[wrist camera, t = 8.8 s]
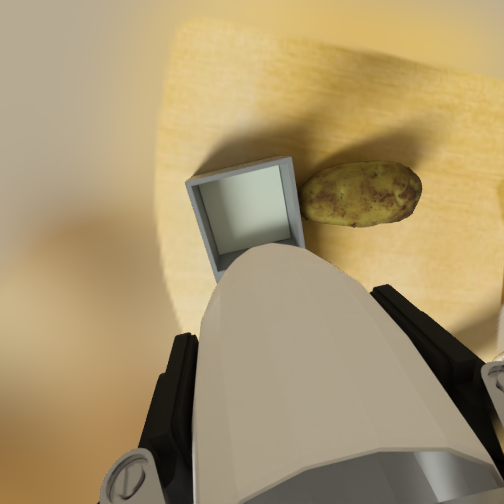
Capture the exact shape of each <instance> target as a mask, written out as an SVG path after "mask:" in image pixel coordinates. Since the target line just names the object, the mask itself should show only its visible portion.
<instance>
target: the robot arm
mask: <svg viewBox="0 0 504 504" xmlns="http://www.w3.org/2000/svg"><path fill="white" fill-rule="evenodd" d="M370 295H371V296H372V297H373V298H374V299H375V300H376V301H377V302H378V304H379V305H380V306H381V307H382V308H383V309H384V310H385V311H386V313H387V314H388V315H389V316H390V317H391V318H392V319H393V320H394V322H395V323H396V324H397V325H398V326H399V327H400V328H401V329H402V331H403V332H404V333H405V334H406V335H407V336H408V337H409V339H410V340H411V342H412V343H413V345H414V346H415V348H416V349H417V350H418V352H419V353H420V355H421V356H422V358H423V359H424V361H425V362H426V364H427V365H428V366H429V368H430V369H431V371H432V372H433V374H434V375H435V377H436V378H437V380H438V381H439V382H440V384H441V385H442V387H443V388H444V390H445V391H446V393H447V394H448V396H449V397H450V398H451V400H452V401H453V403H454V404H455V406H456V407H457V409H458V410H459V412H460V413H461V414H462V416H463V417H464V419H465V420H466V422H467V423H468V425H469V426H470V427H471V429H472V430H473V432H474V433H475V435H476V436H477V438H478V439H479V441H480V442H481V443H482V445H483V446H484V448H485V449H486V451H487V452H488V454H489V455H490V457H491V459H492V460H493V462H494V464H495V466H496V468H497V470H498V471H499V473H500V475H501V477H502V479H503V481H504V361H493V362H488V363H487V364H486V363H485V362H484V361H482V360H481V359H480V358H479V357H478V356H476V355H475V354H474V353H473V352H472V351H470V350H469V349H468V348H467V347H466V346H464V345H463V344H462V343H461V342H459V341H458V340H457V339H456V338H455V337H453V336H452V335H451V334H450V333H449V332H447V331H446V330H445V329H444V328H443V327H441V326H440V325H439V324H438V323H437V322H435V321H434V320H433V319H432V318H431V317H429V316H428V315H427V314H426V313H424V312H422V311H420V310H419V309H418V308H417V307H415V306H414V305H413V304H412V303H411V302H409V301H408V300H407V299H406V298H405V297H404V296H402V295H401V294H400V293H399V292H398V291H396V290H395V289H394V288H393V287H392V286H390V285H389V284H386V285H382V286H377V287H374V288H373V291H372V292H370ZM198 345H199V342H198V339H197V337H196V335H191V333H190V332H188V333H184V334H180V335H177V336H176V337H175V339H174V343H173V347H172V350H171V354H170V357H169V361H168V365H167V369H166V372H165V373H162V374H160V376H159V378H158V381H157V384H156V387H155V391H154V394H153V397H152V401H151V405H150V408H149V411H148V415H147V418H146V422H145V425H144V428H143V432H142V435H141V439H140V442H139V446H138V448H137V449H133V450H131V451H129V452H127V453H125V454H124V455H123V456H122V457H120V458H119V459H118V460H117V461H116V462H115V463H114V464H113V466H112V467H111V468H110V469H109V471H108V473H107V474H106V476H105V478H104V480H103V483H102V486H101V489H100V501H99V502H98V503H97V504H194V494H193V461H192V428H191V424H192V412H193V401H194V389H195V378H196V367H197V356H198ZM435 504H504V487H501V488H497V489H493V490H489V491H485V492H481V493H476V494H472V495H468V496H464V497H460V498H456V499H451V500H447V501H443V502H439V503H435Z"/></svg>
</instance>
